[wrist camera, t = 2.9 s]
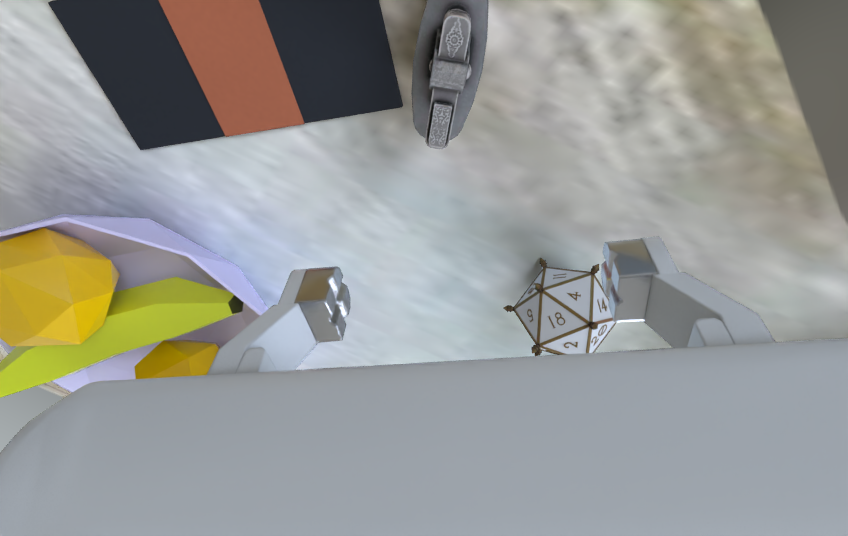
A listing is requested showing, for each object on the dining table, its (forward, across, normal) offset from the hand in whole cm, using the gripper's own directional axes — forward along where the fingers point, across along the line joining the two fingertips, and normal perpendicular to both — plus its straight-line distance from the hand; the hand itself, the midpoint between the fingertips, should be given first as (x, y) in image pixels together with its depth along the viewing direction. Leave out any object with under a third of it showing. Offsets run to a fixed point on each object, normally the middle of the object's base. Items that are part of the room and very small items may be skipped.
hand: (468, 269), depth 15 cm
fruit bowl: (+21, +32, +18) cm, 42 cm away
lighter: (+20, +1, -2) cm, 21 cm away
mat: (+20, +15, -2) cm, 25 cm away
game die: (+20, -6, +20) cm, 29 cm away
